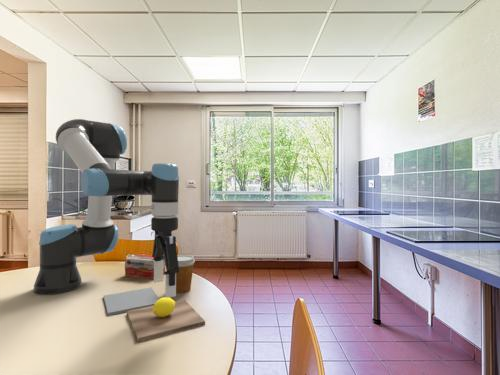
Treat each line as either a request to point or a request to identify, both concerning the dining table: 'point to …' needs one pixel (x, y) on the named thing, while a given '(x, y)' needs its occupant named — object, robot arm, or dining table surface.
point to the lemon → (163, 307)
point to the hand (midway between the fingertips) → (164, 288)
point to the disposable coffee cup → (184, 273)
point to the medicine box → (141, 266)
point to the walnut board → (163, 321)
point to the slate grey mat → (130, 300)
